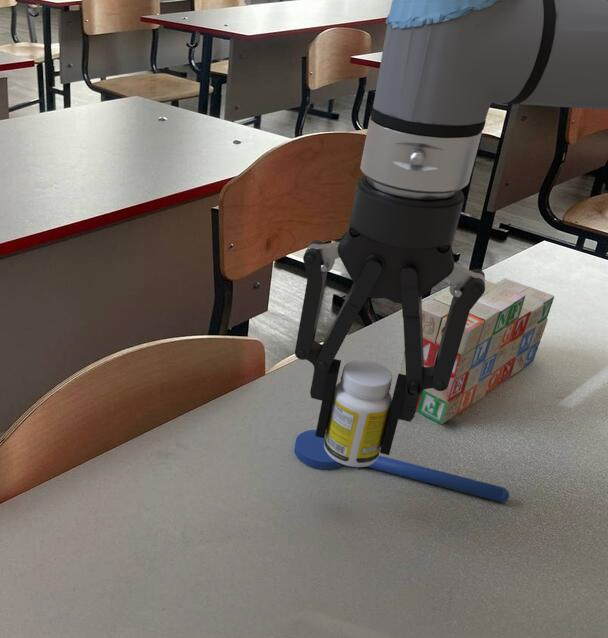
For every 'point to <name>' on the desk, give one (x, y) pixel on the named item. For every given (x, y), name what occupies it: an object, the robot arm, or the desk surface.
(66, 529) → the desk surface
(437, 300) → the stack of blocks
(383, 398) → the supplement bottle
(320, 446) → the spoon
